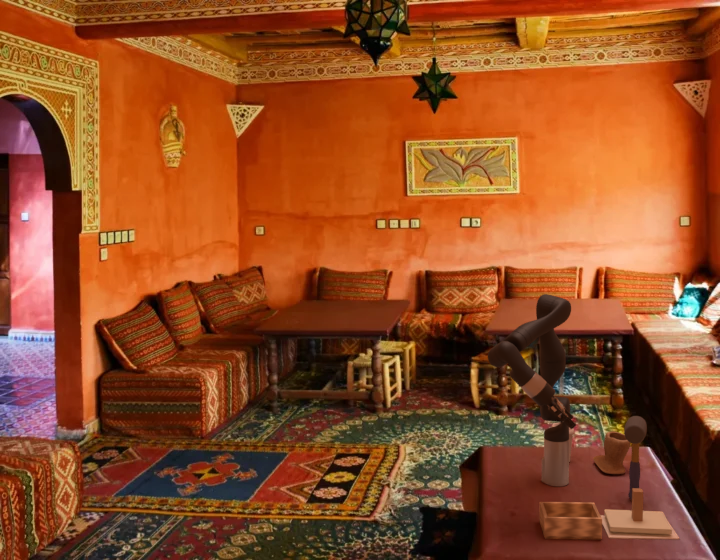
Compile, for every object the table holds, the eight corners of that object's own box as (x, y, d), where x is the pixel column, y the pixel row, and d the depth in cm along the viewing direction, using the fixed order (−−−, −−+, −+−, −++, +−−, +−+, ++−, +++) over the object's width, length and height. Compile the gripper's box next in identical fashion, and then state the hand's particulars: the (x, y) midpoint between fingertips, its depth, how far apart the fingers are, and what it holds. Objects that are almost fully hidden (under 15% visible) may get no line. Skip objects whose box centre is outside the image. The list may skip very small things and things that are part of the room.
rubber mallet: (644, 508, 286) (646, 425, 282) (621, 505, 289) (623, 423, 285) (646, 495, 297) (648, 415, 293) (624, 492, 300) (626, 413, 296)
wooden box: (544, 538, 265) (544, 518, 264) (539, 521, 277) (539, 501, 276) (601, 539, 263) (602, 518, 262) (593, 522, 276) (594, 502, 275)
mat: (609, 538, 264) (609, 537, 264) (598, 516, 281) (598, 515, 280) (679, 539, 262) (679, 538, 262) (664, 517, 279) (664, 516, 279)
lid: (610, 534, 266) (610, 497, 264) (604, 516, 280) (604, 481, 278) (671, 536, 263) (672, 499, 261) (662, 518, 277) (663, 483, 275)
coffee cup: (574, 458, 337) (575, 423, 335) (572, 466, 328) (573, 430, 326) (551, 456, 340) (551, 421, 338) (548, 464, 331) (548, 428, 329)
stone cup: (633, 476, 316) (634, 438, 314) (602, 476, 316) (602, 439, 314) (622, 462, 331) (623, 426, 329) (592, 462, 331) (593, 427, 329)
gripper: (547, 386, 265) (583, 422, 265) (544, 375, 279) (578, 409, 279) (530, 402, 266) (566, 437, 266) (528, 390, 280) (562, 423, 280)
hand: (572, 422), depth 272 cm, fingers open, 8 cm apart
